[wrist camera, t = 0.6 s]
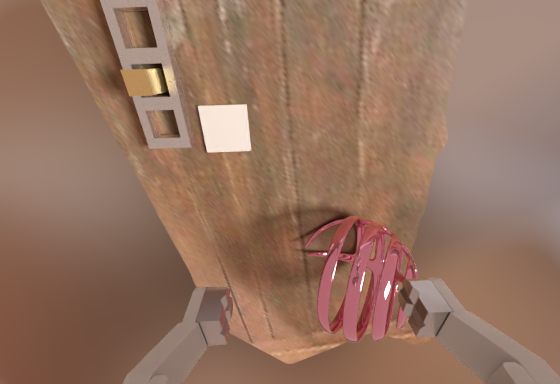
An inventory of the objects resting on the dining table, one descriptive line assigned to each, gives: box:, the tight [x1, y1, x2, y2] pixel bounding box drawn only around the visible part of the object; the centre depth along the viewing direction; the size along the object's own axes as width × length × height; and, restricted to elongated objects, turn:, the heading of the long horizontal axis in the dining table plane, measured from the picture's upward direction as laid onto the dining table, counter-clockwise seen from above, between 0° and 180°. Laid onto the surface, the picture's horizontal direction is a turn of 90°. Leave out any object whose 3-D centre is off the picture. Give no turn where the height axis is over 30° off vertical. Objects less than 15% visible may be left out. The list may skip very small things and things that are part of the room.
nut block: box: [120, 68, 169, 96], centre depth 41 cm, size 4×4×8 cm
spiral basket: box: [306, 216, 418, 342], centre depth 55 cm, size 28×28×27 cm
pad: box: [198, 104, 251, 152], centre depth 49 cm, size 10×10×1 cm
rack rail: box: [100, 0, 195, 149], centre depth 43 cm, size 26×9×3 cm, turn 2°
